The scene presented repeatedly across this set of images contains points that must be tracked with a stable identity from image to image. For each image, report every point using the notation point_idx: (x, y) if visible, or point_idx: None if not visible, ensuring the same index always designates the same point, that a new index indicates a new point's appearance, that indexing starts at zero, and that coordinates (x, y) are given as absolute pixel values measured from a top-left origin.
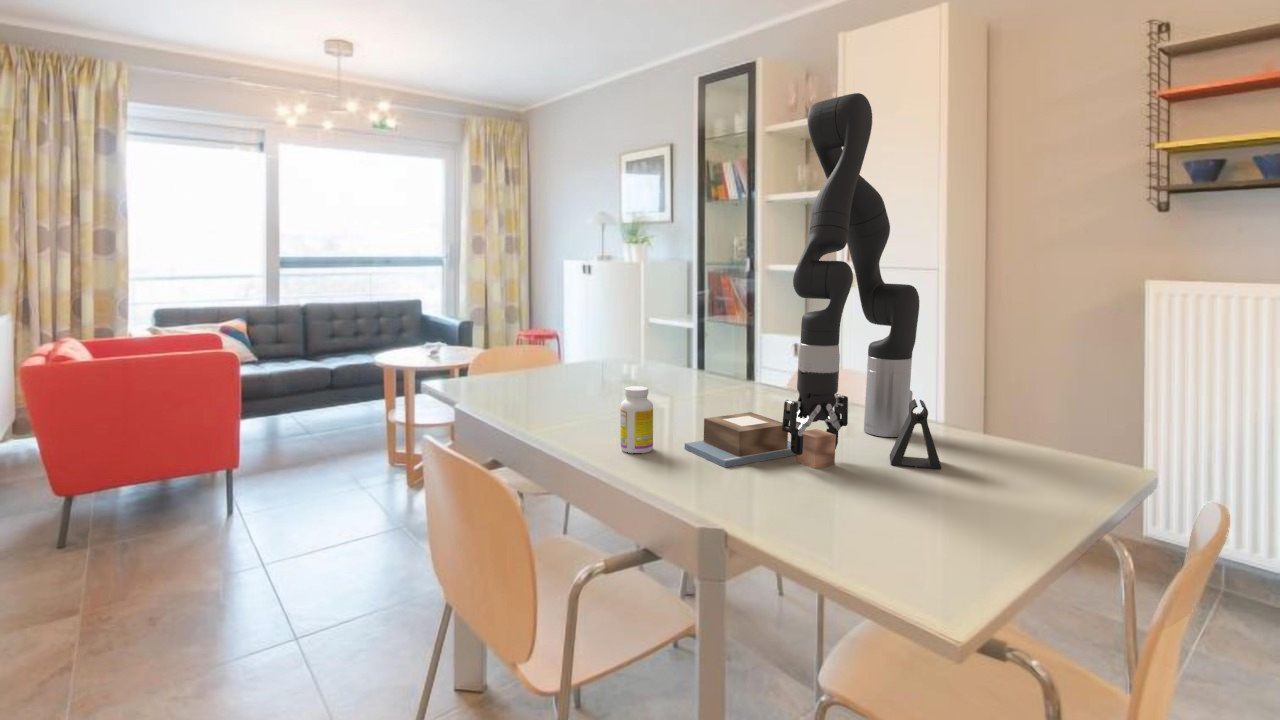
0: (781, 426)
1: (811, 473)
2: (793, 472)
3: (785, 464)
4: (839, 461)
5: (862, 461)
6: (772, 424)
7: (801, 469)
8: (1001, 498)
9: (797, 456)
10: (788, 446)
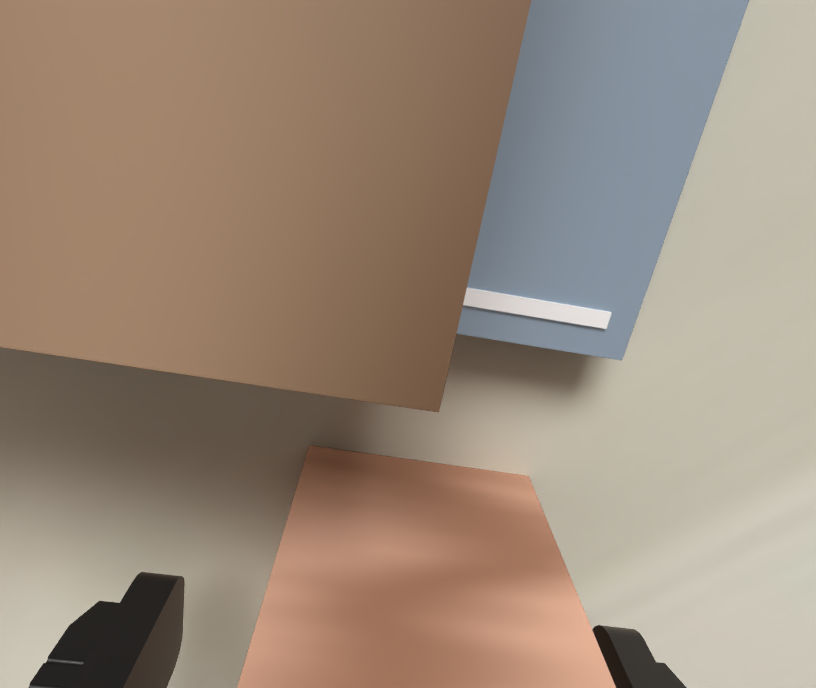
0: (219, 362)
1: (187, 654)
2: (84, 585)
3: (167, 438)
4: (585, 611)
5: (698, 683)
6: (25, 142)
7: (190, 576)
8: None
9: (300, 483)
10: (508, 211)
